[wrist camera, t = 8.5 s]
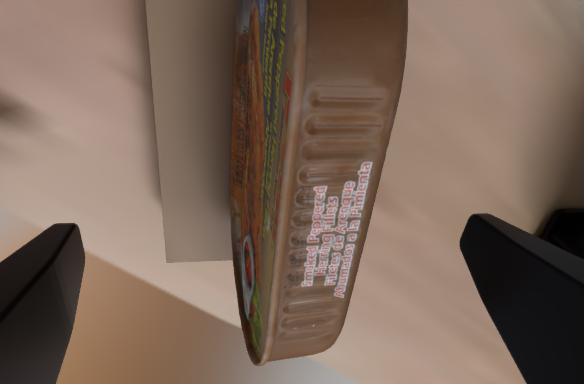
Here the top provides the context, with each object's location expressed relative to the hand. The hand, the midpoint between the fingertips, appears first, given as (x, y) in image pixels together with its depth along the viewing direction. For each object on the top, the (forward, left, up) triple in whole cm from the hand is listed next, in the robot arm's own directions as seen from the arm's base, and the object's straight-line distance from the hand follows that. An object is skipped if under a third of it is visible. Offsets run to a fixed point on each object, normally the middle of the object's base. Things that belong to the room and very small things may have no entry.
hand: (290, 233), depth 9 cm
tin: (-1, +1, -9) cm, 9 cm away
